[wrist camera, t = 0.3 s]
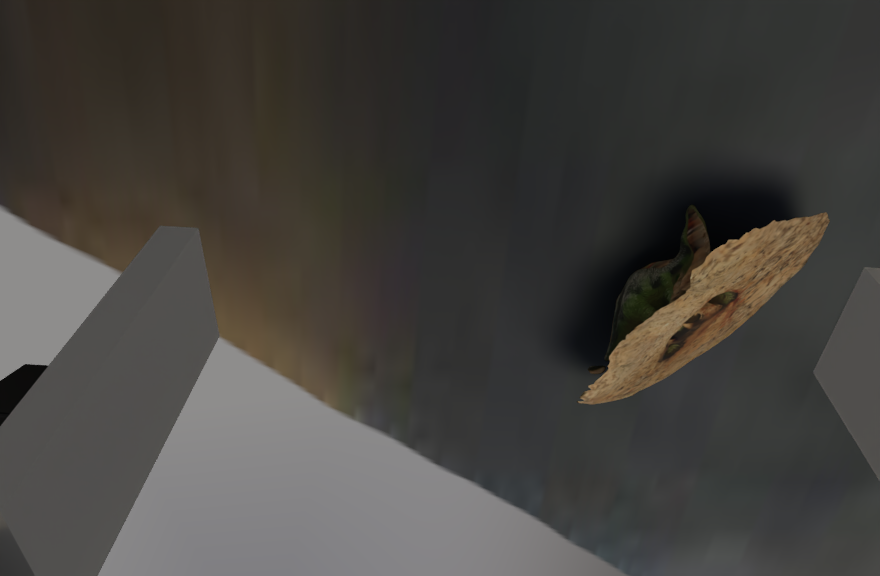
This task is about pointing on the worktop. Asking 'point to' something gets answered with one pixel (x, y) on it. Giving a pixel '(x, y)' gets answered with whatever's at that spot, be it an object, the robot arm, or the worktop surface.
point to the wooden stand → (697, 300)
